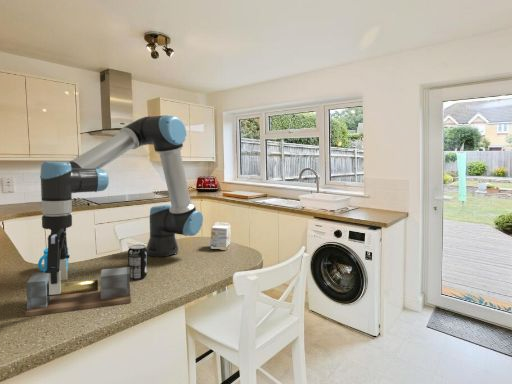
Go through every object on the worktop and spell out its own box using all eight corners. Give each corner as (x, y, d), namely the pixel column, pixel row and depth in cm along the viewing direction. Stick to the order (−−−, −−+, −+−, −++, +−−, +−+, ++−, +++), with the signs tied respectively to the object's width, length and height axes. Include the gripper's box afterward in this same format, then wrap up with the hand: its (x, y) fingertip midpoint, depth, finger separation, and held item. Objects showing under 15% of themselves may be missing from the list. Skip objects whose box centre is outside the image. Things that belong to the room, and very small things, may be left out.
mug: (56, 264, 130) (56, 245, 129) (73, 267, 128) (73, 247, 127) (29, 274, 118) (29, 253, 117) (47, 277, 116) (47, 255, 116)
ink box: (210, 249, 160) (210, 223, 159) (214, 245, 168) (215, 220, 167) (226, 251, 159) (227, 224, 157) (230, 246, 167) (231, 221, 166)
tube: (98, 288, 101) (98, 277, 100) (97, 292, 97) (97, 281, 97) (38, 295, 94) (38, 283, 94) (35, 300, 91) (35, 287, 91)
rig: (129, 288, 108) (129, 262, 108) (130, 302, 97) (130, 274, 97) (36, 299, 98) (35, 270, 97) (25, 316, 87) (24, 285, 86)
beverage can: (142, 273, 123) (142, 243, 122) (149, 277, 119) (149, 246, 118) (125, 277, 119) (125, 245, 118) (132, 282, 114) (132, 249, 113)
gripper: (50, 208, 102) (52, 274, 104) (31, 221, 81) (33, 304, 82) (76, 208, 105) (78, 272, 107) (65, 220, 84) (66, 300, 85)
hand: (58, 286), depth 95 cm, fingers open, 11 cm apart
